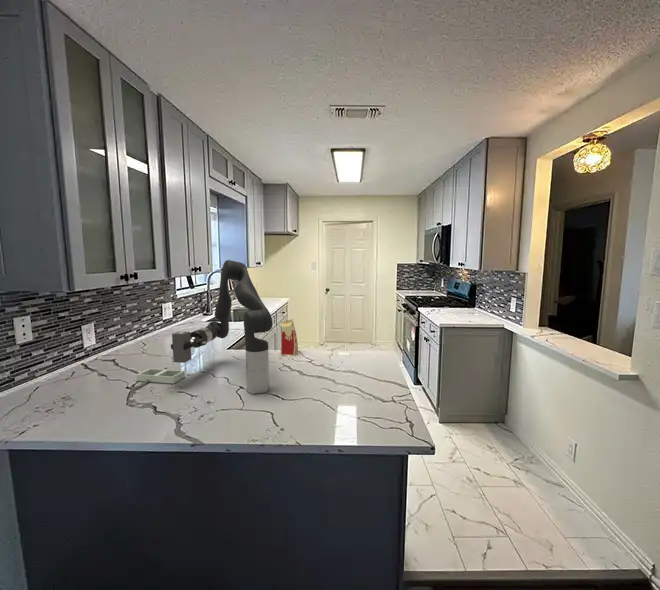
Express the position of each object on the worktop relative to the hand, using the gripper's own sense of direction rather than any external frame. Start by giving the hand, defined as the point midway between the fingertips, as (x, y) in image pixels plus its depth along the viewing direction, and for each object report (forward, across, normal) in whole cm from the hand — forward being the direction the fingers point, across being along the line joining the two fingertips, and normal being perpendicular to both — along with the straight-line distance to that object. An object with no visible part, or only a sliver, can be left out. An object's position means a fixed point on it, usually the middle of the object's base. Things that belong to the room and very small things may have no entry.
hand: (178, 347), depth 139 cm
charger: (-3, 0, +6) cm, 7 cm away
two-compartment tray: (-3, -15, +18) cm, 23 cm away
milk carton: (-57, +30, +18) cm, 67 cm away
